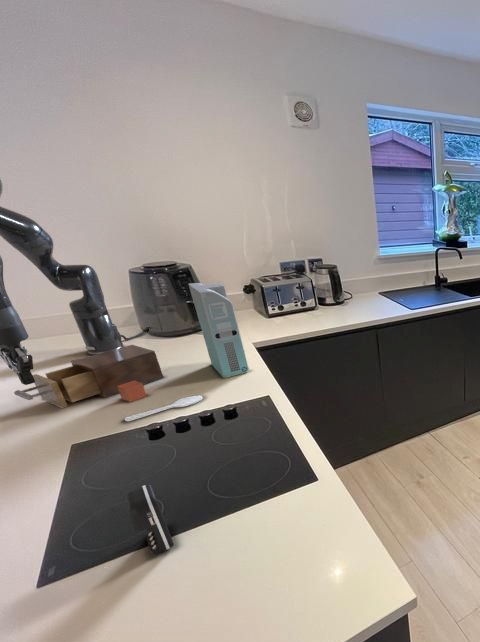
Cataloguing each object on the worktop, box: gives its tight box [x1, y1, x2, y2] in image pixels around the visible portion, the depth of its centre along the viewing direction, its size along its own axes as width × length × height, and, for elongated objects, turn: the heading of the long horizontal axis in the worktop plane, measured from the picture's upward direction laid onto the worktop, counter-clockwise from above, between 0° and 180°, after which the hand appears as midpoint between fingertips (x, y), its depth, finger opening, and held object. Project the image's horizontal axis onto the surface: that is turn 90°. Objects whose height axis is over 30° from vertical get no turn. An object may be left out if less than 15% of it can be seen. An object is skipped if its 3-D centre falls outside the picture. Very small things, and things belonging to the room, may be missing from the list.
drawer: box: [13, 365, 101, 409], centre depth 119 cm, size 20×12×8 cm, turn 157°
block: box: [117, 381, 148, 403], centre depth 121 cm, size 4×4×4 cm
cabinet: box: [70, 344, 164, 398], centre depth 129 cm, size 16×13×10 cm
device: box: [188, 282, 250, 379], centre depth 138 cm, size 16×8×30 cm, turn 47°
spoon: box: [124, 394, 204, 422], centre depth 116 cm, size 5×18×1 cm, turn 141°
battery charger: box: [124, 483, 175, 555], centre depth 71 cm, size 7×4×11 cm, turn 48°
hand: (28, 383), depth 111 cm, fingers closed
